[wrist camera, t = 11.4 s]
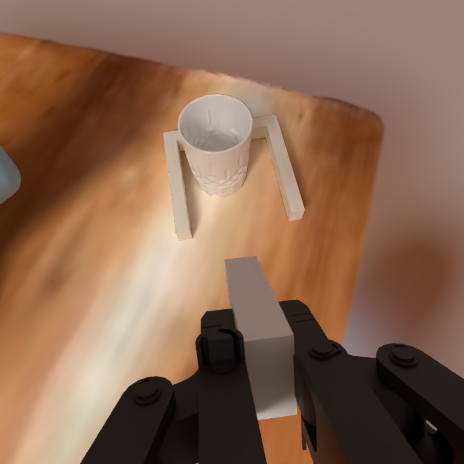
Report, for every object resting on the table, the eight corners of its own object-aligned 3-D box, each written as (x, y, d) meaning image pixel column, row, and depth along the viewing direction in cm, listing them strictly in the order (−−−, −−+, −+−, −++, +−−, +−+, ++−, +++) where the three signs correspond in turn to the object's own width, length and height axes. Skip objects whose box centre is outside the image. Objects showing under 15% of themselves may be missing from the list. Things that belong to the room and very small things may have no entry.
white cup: (239, 144, 46) (239, 86, 37) (258, 191, 43) (263, 141, 34) (184, 158, 46) (169, 103, 36) (199, 208, 43) (187, 161, 33)
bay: (301, 218, 42) (304, 209, 39) (179, 240, 41) (175, 232, 39) (274, 126, 47) (275, 114, 45) (166, 144, 47) (162, 132, 44)
